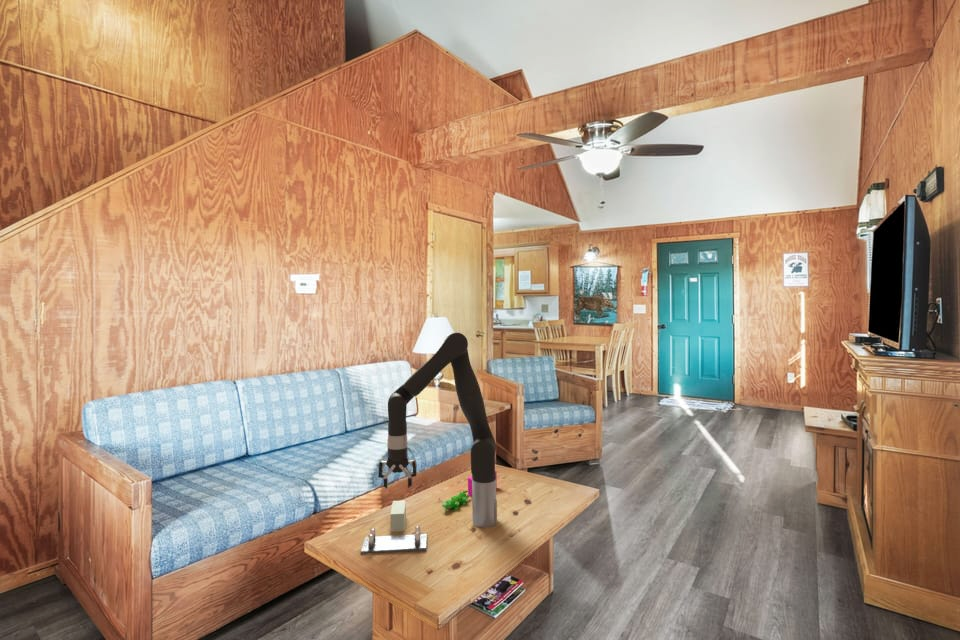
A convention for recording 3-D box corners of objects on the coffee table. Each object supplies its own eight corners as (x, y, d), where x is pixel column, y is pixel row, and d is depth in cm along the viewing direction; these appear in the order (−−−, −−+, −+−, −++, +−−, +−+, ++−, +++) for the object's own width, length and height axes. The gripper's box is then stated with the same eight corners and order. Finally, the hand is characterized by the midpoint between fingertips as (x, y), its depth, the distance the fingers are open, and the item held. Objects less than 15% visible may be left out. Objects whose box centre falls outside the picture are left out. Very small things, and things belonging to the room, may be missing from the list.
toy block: (478, 498, 208) (478, 481, 208) (468, 494, 212) (467, 478, 212) (500, 488, 219) (500, 472, 219) (490, 485, 223) (490, 469, 223)
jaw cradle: (426, 537, 174) (426, 522, 174) (426, 551, 164) (425, 536, 164) (365, 540, 172) (364, 526, 172) (360, 554, 162) (360, 539, 162)
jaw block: (406, 517, 190) (405, 500, 190) (404, 532, 178) (404, 513, 178) (393, 518, 190) (392, 500, 190) (390, 532, 178) (390, 514, 178)
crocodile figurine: (436, 511, 196) (436, 501, 196) (461, 496, 211) (461, 486, 211) (450, 515, 192) (450, 504, 192) (474, 499, 207) (474, 489, 207)
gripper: (416, 442, 187) (417, 483, 188) (379, 443, 186) (380, 484, 187) (415, 448, 180) (416, 490, 181) (377, 449, 179) (377, 492, 179)
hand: (397, 487), depth 184 cm, fingers open, 8 cm apart
